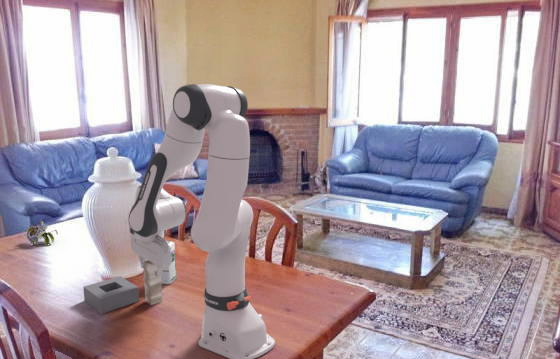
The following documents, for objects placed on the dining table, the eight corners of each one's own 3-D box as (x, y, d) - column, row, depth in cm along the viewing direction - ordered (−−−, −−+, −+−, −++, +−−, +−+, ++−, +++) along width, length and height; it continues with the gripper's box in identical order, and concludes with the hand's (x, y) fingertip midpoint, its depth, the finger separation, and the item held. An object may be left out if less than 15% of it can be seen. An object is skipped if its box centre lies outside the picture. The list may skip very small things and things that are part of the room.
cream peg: (162, 301, 164) (160, 261, 161) (151, 305, 161) (149, 264, 158) (156, 297, 167) (154, 258, 164) (145, 301, 164) (143, 261, 161)
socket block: (139, 301, 164) (138, 287, 163) (101, 313, 155) (100, 299, 154) (120, 289, 173) (120, 276, 172) (84, 300, 164) (83, 286, 163)
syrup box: (170, 284, 177) (168, 246, 174) (155, 283, 178) (153, 245, 176) (176, 278, 183) (175, 241, 180) (162, 277, 184) (160, 240, 181)
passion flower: (34, 256, 220) (17, 235, 219) (53, 245, 229) (38, 224, 228) (44, 247, 214) (27, 224, 213) (64, 235, 223) (48, 214, 222)
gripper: (176, 238, 154) (176, 279, 157) (143, 223, 169) (144, 261, 171) (158, 242, 150) (159, 284, 153) (126, 226, 164) (128, 265, 167)
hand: (151, 272), depth 162 cm, fingers open, 8 cm apart
